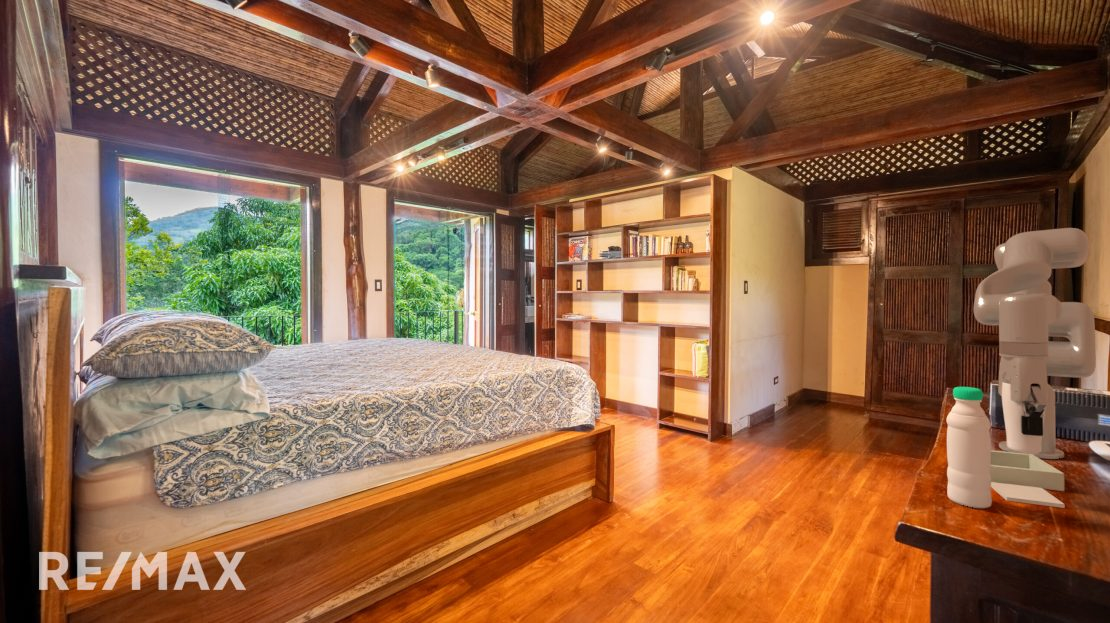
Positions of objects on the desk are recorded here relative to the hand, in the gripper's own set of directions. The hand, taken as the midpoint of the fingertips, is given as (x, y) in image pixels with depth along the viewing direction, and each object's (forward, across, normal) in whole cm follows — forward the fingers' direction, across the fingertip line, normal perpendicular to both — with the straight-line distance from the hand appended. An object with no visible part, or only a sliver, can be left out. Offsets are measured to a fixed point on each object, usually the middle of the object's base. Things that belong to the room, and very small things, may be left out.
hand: (1023, 430), depth 99 cm
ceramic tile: (+15, 0, 0) cm, 15 cm away
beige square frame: (+15, -14, +2) cm, 20 cm away
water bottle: (+15, +8, -12) cm, 21 cm away
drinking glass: (+5, 0, 0) cm, 5 cm away
